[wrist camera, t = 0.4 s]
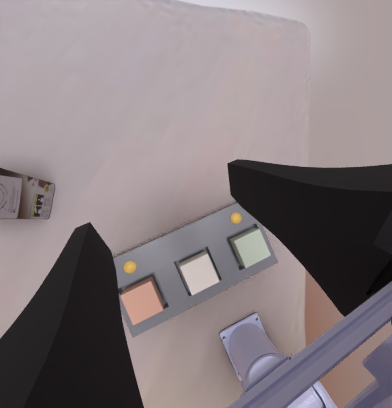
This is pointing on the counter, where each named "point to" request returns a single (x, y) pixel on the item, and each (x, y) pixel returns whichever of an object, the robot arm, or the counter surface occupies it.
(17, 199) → the coffee box
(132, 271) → the keypad
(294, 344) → the counter surface
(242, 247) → the sage key
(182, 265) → the cream key
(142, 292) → the terracotta key
